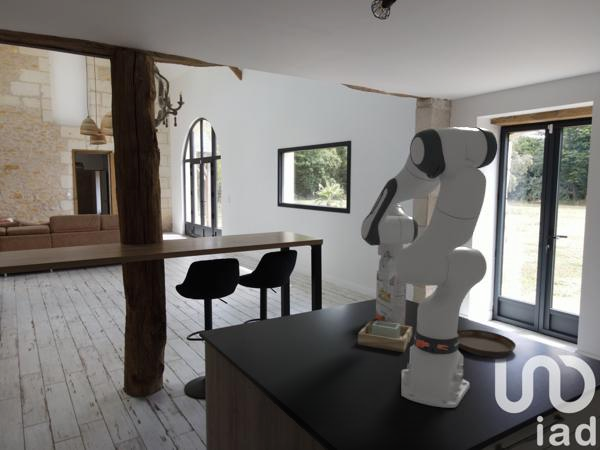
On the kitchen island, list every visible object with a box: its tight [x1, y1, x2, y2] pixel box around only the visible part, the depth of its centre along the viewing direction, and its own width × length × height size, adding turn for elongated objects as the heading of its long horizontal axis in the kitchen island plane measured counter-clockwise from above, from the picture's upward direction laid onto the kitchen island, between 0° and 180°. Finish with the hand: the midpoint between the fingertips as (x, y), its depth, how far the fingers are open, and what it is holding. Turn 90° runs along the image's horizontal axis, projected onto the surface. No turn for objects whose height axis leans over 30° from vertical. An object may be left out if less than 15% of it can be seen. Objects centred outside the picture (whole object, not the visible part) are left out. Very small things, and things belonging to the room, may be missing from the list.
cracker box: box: [375, 270, 407, 326], centre depth 170 cm, size 14×6×21 cm, turn 19°
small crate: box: [372, 319, 400, 339], centre depth 152 cm, size 6×9×5 cm, turn 65°
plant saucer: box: [457, 328, 517, 358], centre depth 147 cm, size 21×21×3 cm
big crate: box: [357, 320, 413, 353], centre depth 152 cm, size 16×16×4 cm
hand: (389, 288), depth 150 cm, fingers open, 8 cm apart
